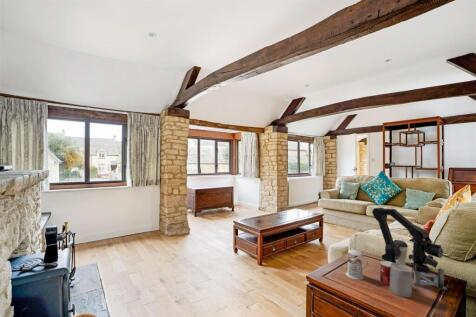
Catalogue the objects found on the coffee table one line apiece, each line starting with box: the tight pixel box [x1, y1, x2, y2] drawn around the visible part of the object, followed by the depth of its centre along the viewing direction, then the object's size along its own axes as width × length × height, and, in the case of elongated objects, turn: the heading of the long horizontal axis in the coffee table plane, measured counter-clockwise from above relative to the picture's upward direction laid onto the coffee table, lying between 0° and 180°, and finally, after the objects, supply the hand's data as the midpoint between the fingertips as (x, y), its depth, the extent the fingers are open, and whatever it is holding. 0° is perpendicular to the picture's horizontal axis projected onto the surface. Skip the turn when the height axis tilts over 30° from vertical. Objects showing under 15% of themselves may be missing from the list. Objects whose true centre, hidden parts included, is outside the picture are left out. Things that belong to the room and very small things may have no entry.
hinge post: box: [435, 268, 448, 291], centre depth 129 cm, size 4×4×11 cm
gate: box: [413, 271, 438, 287], centre depth 131 cm, size 11×1×6 cm, turn 76°
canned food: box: [379, 260, 392, 287], centre depth 133 cm, size 8×8×11 cm
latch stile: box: [412, 269, 423, 288], centre depth 131 cm, size 4×3×8 cm
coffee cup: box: [393, 239, 409, 265], centre depth 160 cm, size 9×9×15 cm
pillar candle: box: [389, 263, 414, 298], centre depth 123 cm, size 10×10×15 cm
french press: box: [345, 233, 369, 280], centre depth 140 cm, size 10×12×25 cm
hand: (418, 277), depth 136 cm, fingers closed
